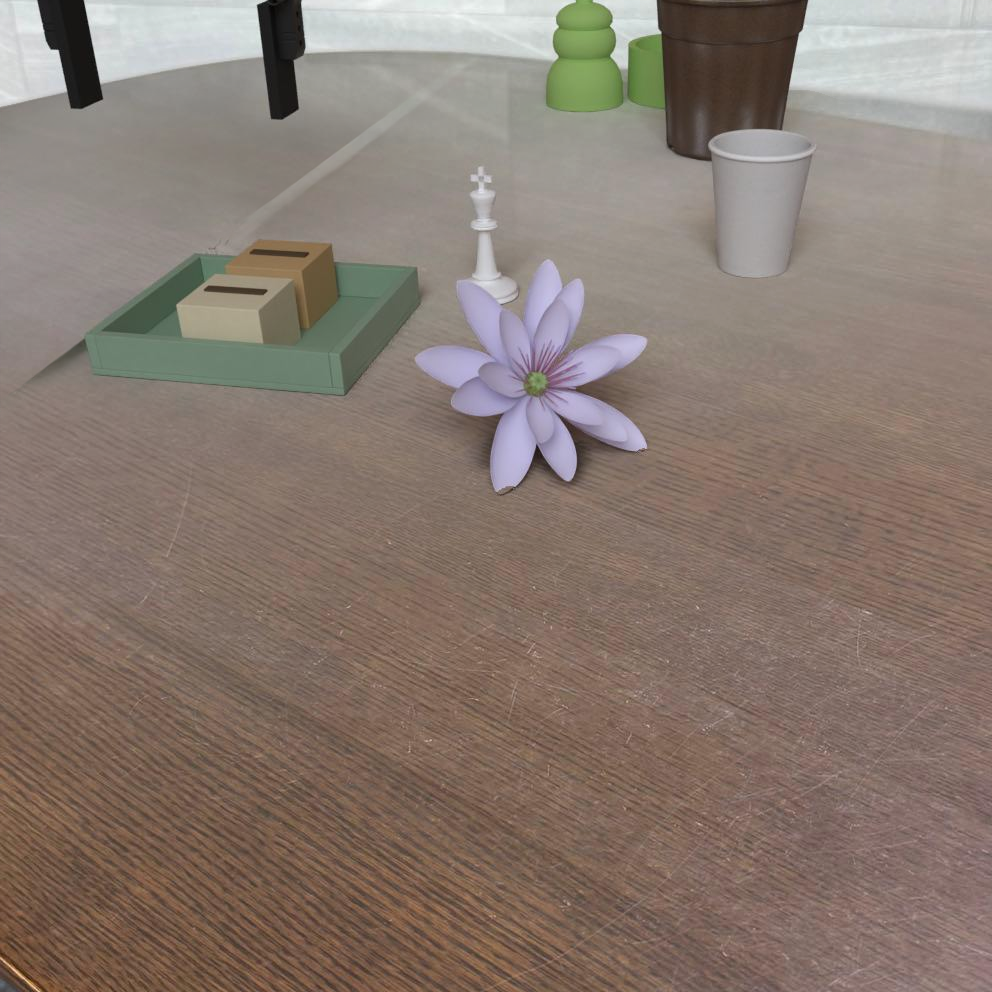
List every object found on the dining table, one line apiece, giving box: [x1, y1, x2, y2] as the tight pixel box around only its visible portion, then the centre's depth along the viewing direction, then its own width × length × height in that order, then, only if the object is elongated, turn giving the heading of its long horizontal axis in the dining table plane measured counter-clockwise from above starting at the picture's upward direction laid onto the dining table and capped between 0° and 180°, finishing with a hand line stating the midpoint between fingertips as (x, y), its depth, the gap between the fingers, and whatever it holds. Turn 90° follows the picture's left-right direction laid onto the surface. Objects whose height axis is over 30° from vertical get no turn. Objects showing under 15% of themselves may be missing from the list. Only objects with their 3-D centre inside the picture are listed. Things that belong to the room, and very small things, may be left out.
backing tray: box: [83, 252, 421, 396], centre depth 88 cm, size 19×17×3 cm
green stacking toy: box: [545, 0, 665, 113], centre depth 146 cm, size 25×14×13 cm, turn 101°
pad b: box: [225, 238, 338, 329], centre depth 90 cm, size 6×6×5 cm
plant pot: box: [656, 0, 809, 162], centre depth 125 cm, size 16×16×16 cm
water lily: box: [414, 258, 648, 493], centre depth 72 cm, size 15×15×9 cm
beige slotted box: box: [176, 274, 301, 346], centre depth 84 cm, size 6×6×5 cm
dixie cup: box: [708, 129, 818, 279], centre depth 96 cm, size 8×8×10 cm
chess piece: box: [455, 165, 520, 305], centre depth 92 cm, size 5×5×10 cm
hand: (184, 109), depth 76 cm, fingers open, 13 cm apart
